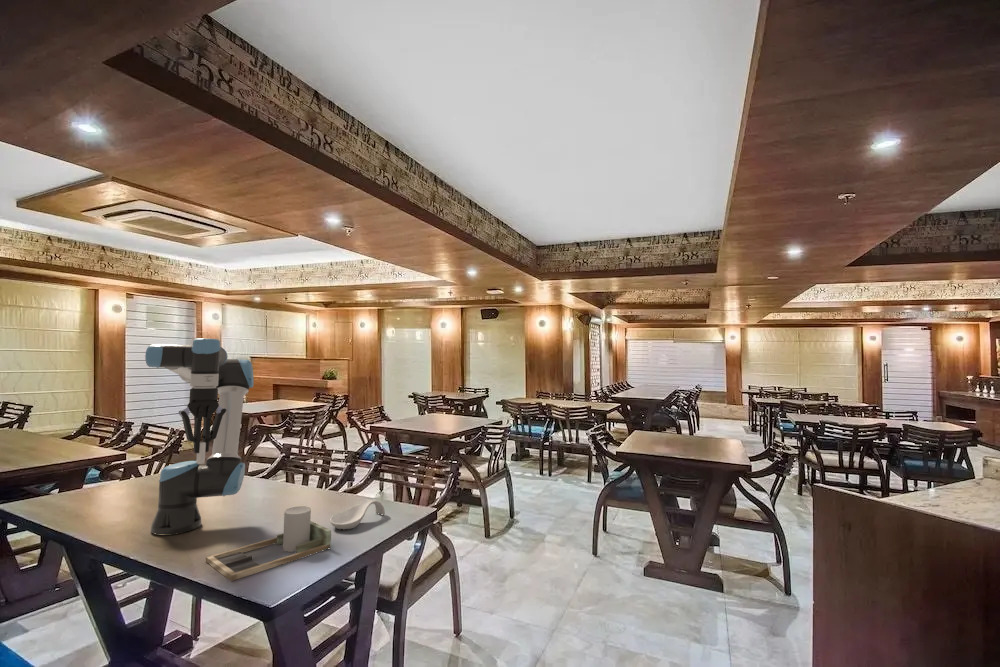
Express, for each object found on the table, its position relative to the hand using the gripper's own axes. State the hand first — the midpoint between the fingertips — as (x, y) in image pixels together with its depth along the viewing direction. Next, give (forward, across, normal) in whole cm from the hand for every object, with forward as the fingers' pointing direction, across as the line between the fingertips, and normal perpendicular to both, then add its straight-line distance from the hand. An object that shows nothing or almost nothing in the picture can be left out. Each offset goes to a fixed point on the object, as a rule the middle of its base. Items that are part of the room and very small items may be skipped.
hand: (200, 463), depth 147 cm
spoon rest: (+30, +53, -8) cm, 61 cm away
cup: (+30, +25, -13) cm, 41 cm away
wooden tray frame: (+29, +17, -13) cm, 36 cm away
